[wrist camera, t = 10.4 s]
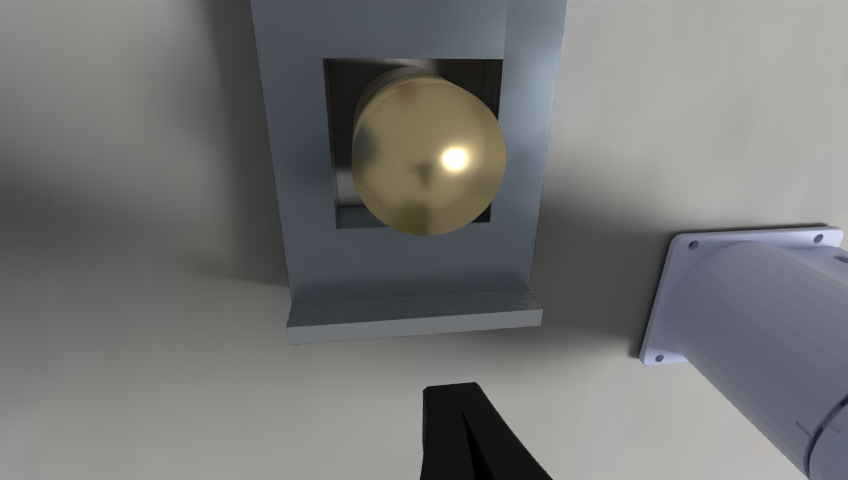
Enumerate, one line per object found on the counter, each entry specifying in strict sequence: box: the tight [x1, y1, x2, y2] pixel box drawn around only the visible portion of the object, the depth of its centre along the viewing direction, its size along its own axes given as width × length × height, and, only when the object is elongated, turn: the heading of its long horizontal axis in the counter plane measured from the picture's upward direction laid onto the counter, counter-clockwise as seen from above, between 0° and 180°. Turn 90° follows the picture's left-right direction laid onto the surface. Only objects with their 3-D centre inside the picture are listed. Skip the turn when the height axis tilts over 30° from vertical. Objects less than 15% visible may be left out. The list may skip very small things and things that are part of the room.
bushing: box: [352, 67, 506, 236], centre depth 15 cm, size 4×4×6 cm
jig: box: [250, 0, 567, 345], centre depth 16 cm, size 10×14×4 cm
